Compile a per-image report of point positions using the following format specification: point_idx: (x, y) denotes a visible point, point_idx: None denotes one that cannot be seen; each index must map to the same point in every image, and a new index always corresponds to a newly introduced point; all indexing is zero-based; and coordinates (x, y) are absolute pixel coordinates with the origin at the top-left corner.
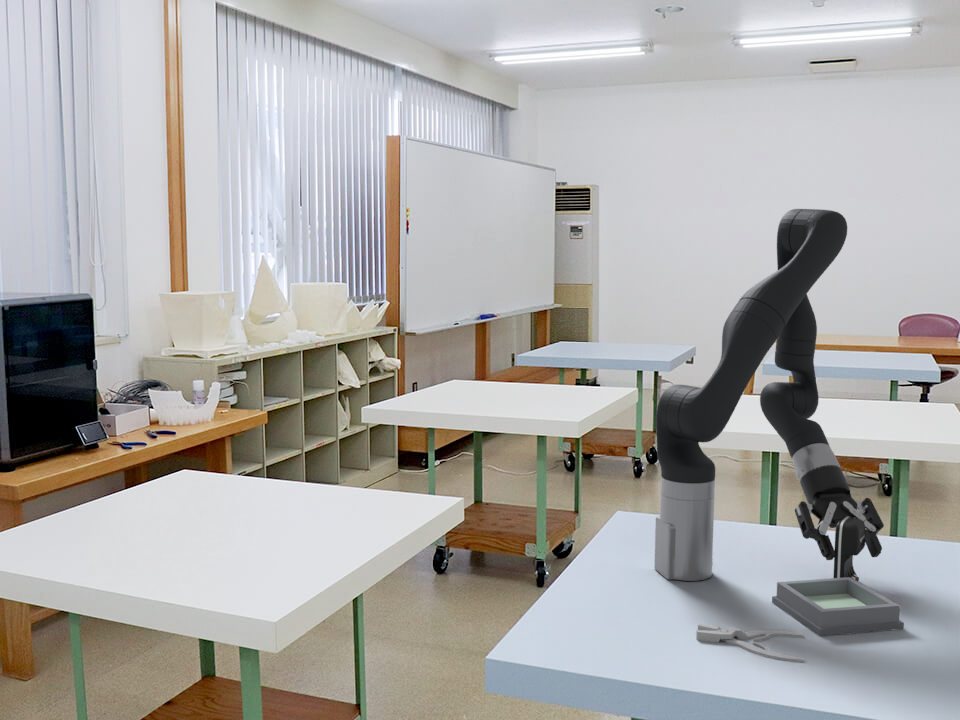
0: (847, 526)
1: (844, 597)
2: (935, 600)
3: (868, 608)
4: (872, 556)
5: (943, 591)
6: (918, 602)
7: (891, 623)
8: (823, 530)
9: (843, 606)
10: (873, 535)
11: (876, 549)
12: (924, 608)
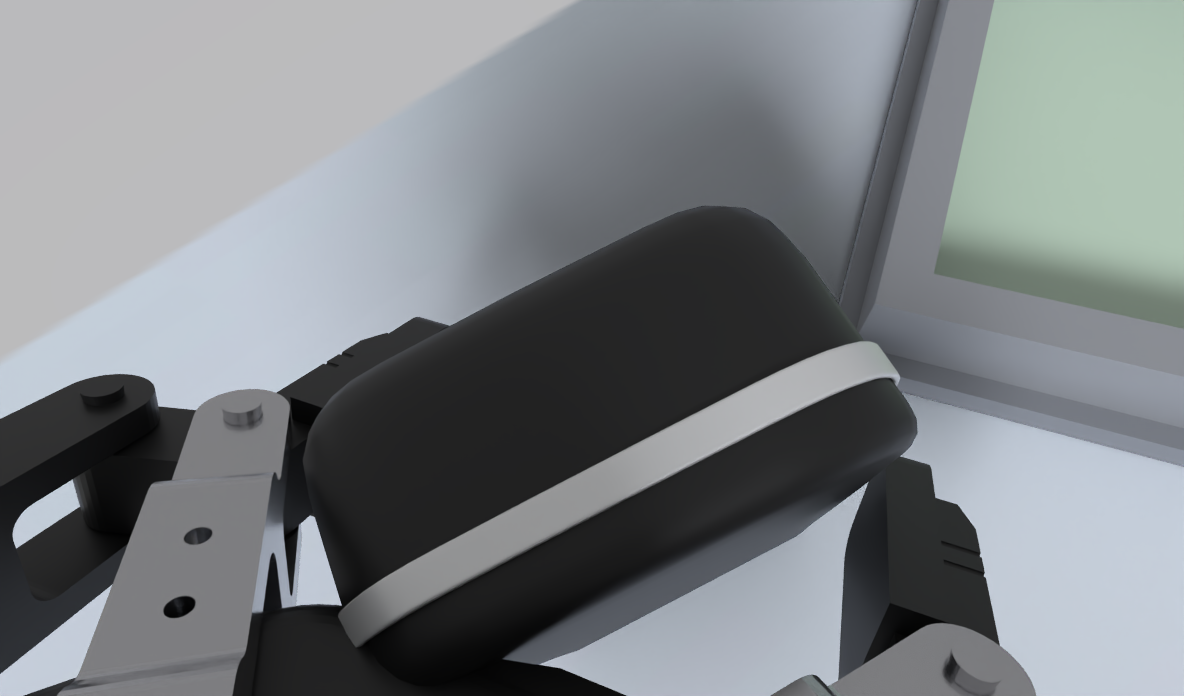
0: (807, 288)
1: (985, 271)
2: (450, 145)
3: None
4: None
5: (298, 208)
6: (546, 157)
7: None
8: (965, 666)
9: (1117, 167)
10: (327, 381)
11: None
12: (596, 97)
